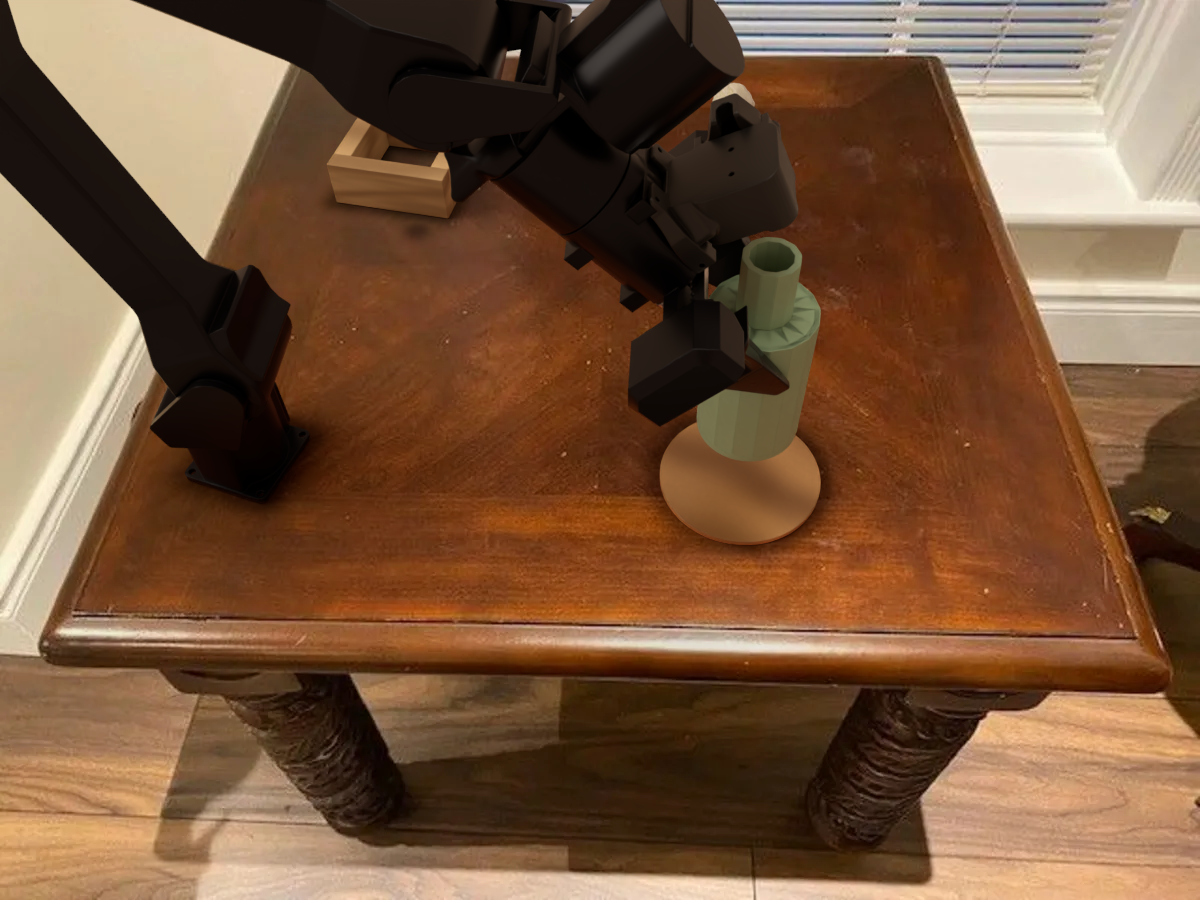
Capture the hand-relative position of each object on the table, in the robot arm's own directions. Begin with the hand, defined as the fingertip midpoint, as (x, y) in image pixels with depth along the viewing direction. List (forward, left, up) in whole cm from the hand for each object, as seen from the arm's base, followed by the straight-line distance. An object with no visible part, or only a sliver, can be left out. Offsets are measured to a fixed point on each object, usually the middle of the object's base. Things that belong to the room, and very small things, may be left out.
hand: (780, 347), depth 61 cm
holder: (+23, +38, -13) cm, 46 cm away
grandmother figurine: (+26, +10, -13) cm, 31 cm away
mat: (0, +1, -13) cm, 13 cm away
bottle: (0, +1, -7) cm, 7 cm away
